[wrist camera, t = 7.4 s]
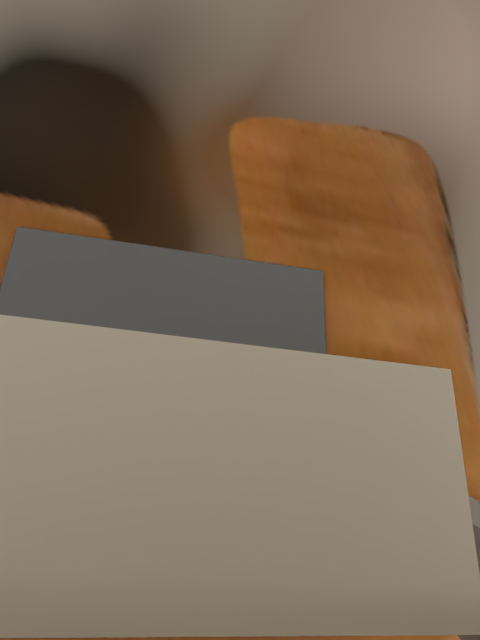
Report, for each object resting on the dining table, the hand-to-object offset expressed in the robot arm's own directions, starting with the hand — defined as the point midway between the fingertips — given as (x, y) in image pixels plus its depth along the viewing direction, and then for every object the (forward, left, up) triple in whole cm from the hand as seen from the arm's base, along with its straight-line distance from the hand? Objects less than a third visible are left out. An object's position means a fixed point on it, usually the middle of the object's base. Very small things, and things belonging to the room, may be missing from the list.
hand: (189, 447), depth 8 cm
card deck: (0, -1, -5) cm, 5 cm away
